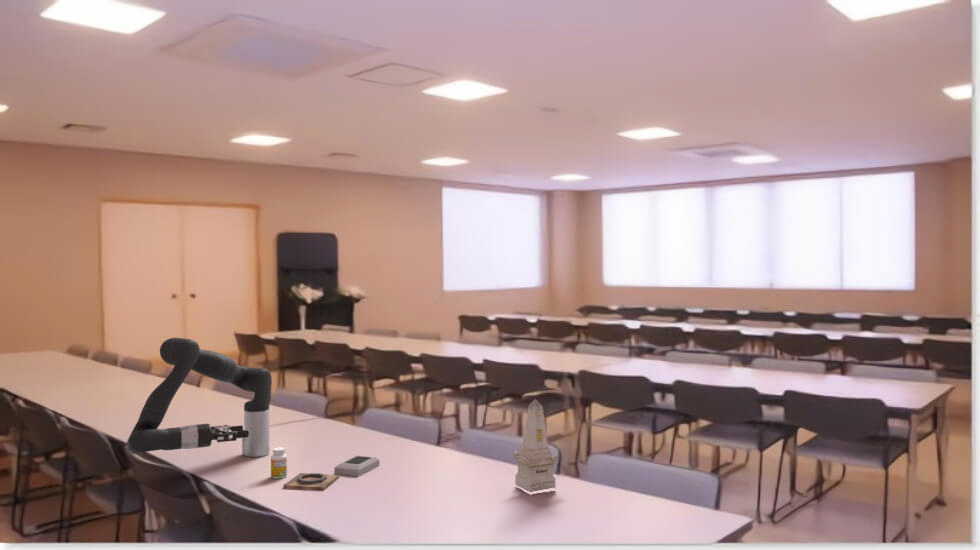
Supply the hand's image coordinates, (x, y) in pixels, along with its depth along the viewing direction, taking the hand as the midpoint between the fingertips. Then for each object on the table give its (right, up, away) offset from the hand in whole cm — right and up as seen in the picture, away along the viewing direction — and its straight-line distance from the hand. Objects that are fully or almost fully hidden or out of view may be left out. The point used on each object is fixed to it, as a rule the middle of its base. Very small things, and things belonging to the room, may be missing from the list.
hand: (245, 431), depth 256 cm
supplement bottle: (+10, -17, +6) cm, 21 cm away
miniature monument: (+98, -18, -7) cm, 100 cm away
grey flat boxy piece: (+35, -18, +15) cm, 42 cm away
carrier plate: (+23, -17, -1) cm, 29 cm away
